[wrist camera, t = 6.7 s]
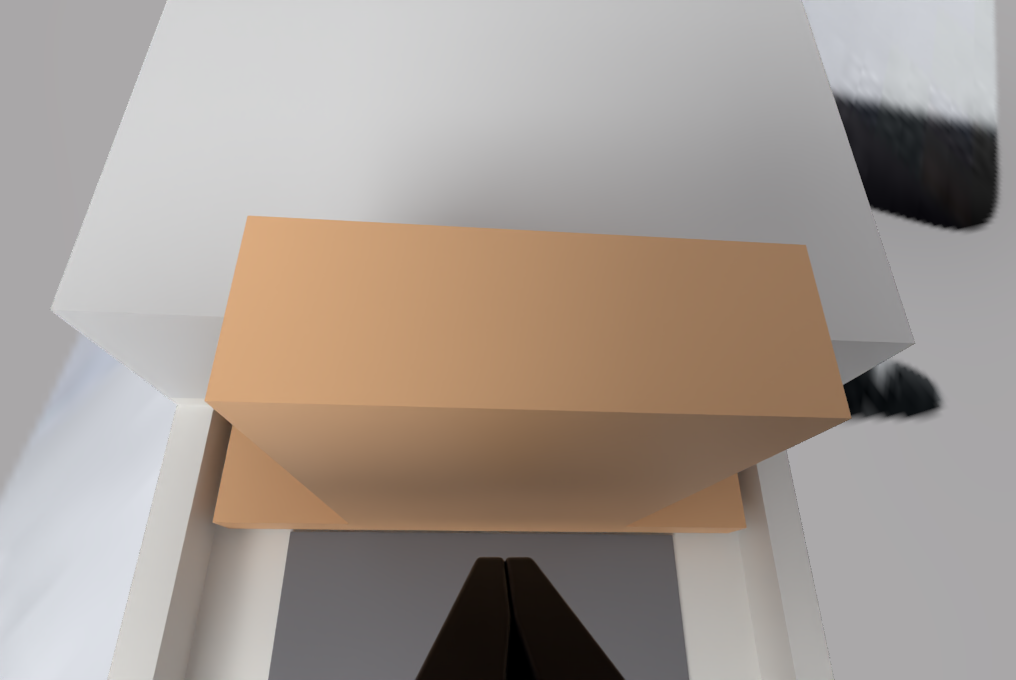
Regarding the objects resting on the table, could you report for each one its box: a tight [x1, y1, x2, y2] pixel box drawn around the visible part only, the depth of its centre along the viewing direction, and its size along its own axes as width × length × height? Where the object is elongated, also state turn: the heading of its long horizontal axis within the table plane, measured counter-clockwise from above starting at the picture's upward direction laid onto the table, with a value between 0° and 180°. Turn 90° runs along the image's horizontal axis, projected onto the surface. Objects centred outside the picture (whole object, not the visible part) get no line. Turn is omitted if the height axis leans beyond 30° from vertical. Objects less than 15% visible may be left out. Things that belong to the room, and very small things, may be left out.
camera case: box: [50, 0, 915, 680], centre depth 14 cm, size 22×14×9 cm, turn 0°
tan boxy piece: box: [205, 216, 851, 533], centre depth 11 cm, size 8×12×9 cm
